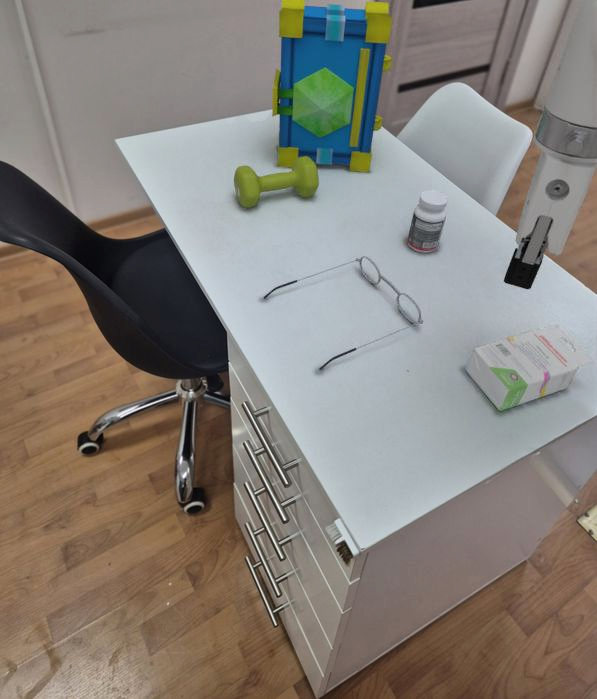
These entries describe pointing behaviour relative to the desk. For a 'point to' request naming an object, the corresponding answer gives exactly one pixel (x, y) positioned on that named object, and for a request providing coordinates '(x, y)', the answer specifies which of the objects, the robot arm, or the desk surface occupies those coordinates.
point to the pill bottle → (428, 222)
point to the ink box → (526, 366)
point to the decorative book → (330, 82)
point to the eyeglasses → (373, 283)
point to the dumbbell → (276, 181)
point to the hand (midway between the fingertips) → (517, 282)
